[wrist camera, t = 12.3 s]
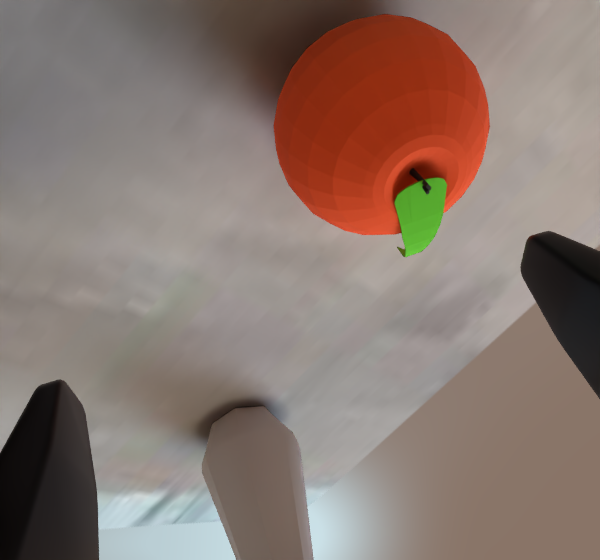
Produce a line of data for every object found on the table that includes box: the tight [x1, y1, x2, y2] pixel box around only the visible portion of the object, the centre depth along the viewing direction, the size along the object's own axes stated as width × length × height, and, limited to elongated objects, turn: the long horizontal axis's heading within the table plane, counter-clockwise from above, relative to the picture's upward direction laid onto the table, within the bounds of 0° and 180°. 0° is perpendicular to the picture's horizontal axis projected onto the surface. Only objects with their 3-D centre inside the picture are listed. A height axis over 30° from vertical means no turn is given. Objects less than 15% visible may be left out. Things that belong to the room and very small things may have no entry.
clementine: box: [274, 14, 490, 257], centre depth 18 cm, size 8×7×7 cm
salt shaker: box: [202, 406, 313, 560], centre depth 29 cm, size 6×6×13 cm
